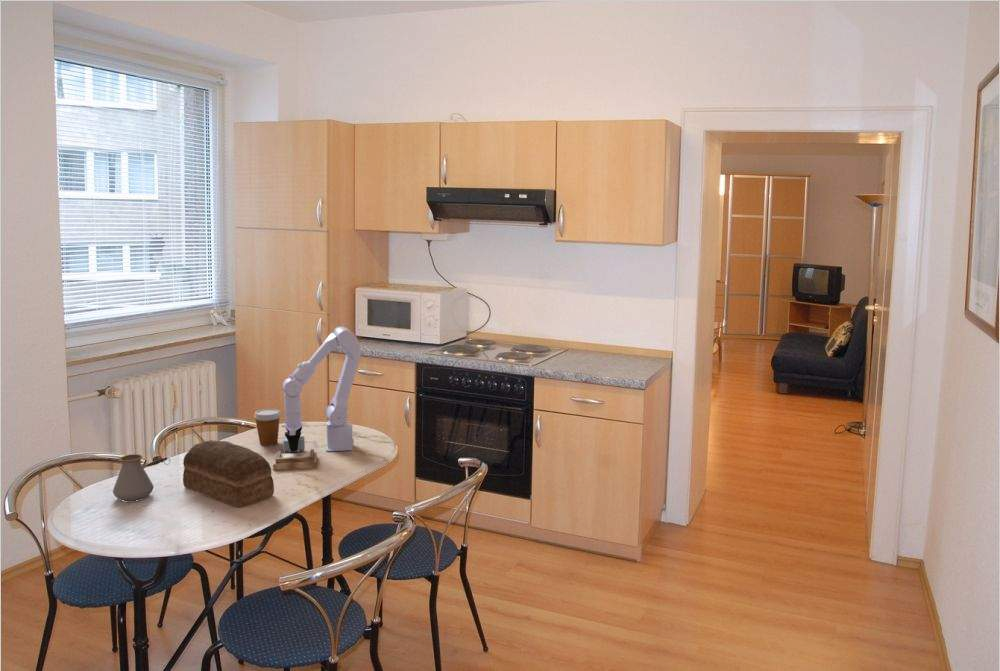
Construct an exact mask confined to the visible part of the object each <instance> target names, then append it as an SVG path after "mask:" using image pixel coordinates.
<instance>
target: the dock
mask: <svg viewBox="0 0 1000 671" xmlns="http://www.w3.org/2000/svg"><path fill="white" fill-rule="evenodd" d="M317 458H318V452H317V451H315V449H311V448H310V452H309V451H308V452H307V451H306V452H304V453H299V452H290V453H287V454H284V453H282V451H281V450H277V452H276V453H275V455H274V460H273V462H272V463H273V464H272V468H273V471H281V469H284V470H300V468H301V469H302V470H303V469H317V460H318V459H317ZM298 468H299V469H298Z"/></svg>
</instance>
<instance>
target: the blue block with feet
mask: <svg viewBox="0 0 1000 671" xmlns="http://www.w3.org/2000/svg"><path fill="white" fill-rule="evenodd" d="M305 444H306V442H305V436H300V438H299V441H298V449H297V451H298V453H305V446H306V445H305ZM283 451H284V452H283V454H287V453H291V450H290V446H289V442H288V440H287V438H286V436H285V437H283Z"/></svg>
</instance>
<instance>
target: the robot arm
mask: <svg viewBox="0 0 1000 671" xmlns="http://www.w3.org/2000/svg"><path fill="white" fill-rule="evenodd" d="M340 347H341V348H340ZM341 349H342V351H343V352H344V354H345V359H344V361H343V365H342V368H341V372H340V376H339V378H338V382H337V384H336V389H335V392H334V395H333V397H332V399H331V400H330V404H328V406H327V407H326V409H325V411H324V412H325V416H326V418H327V419H328V420H327V422H326V444H325V445H326V446H325V451H326V452H341V451H342V452H343V451H344V452H345V451H353V450H354V445H353V444H354V443H355V442H354V441H355V439H354V438H353V436H354V435H353V423H348V422H347V421H348V409H349V405H348V403H349V402H348V401H349V397H350V394H351V391H352V388H353V384H354V380H355V377H356V374H357V371H358V367H359V363H360V360H361V357H362V351H361V349H360V345H359V341H358V338H357V336H356V335H355V334H354V332H352V331H351V330H350V329H348V327H346V326H342V325H341V326H337V327H336V328H334V330H333V332H331V333H329V335H328V336H327V337H326V339H325V340H324V341H323V342H322V344H321V345H320V346H319V347H318V348H317V350H316V351H315V352H314V353H313V354H312V356H311V357H310V358H309V360H306V361H302V362H299V363H298V364H297V368H296V369H295V371H294V372H293V373H292V374H289V375H288V378H286V379H285V380H284V381H283V383H282V385H281V388H282V391H283V396H284V397H283V398H284V400H283V405H284V406H283V407H284V411H283V412H284V423H282V424H281V427H282V428H285V430H286V432H284V436H285V437H286V438H287V440H288V442H289V446H290V450H291V451H290V453H297V451H298V450H297V449H298V441H299V438H300V437H302V436H301V435H302V429H303V422H302V406H301V405H302V402H301V400H302V399H301V394H302V391H303V387H304V386H305V385H306V384H307V383H308V382H309V380H311V378H312V377H313V376H314V375H315V374H316V372H317V370H316V369H317V366H318V365H319V364H320V363H321V362H322V361H323V360H324V359H325V358H326V357H327V356H328V355H329V354H330V353H331V352H332V351H337V350H341Z"/></svg>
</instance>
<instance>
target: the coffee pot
mask: <svg viewBox="0 0 1000 671" xmlns="http://www.w3.org/2000/svg"><path fill="white" fill-rule="evenodd" d="M142 459H143V456H142V455H141V454H135V453H134V454H128V455H123V456H121V457H119V461H120V463H121V468H120V471H119V473H118V475H117V476H118V477H117V479H116V481H115V484H114V486H113V489H112V493H113V495H114V497H115V498H117V499H119V500H120V499H121V500H124V501H136V500H140V501H142V500H141V499H143V498H145V497H147V498H148V496H149V495H151V493H153V489H154V483H153V482H152V481H151V479H150V477H149V475H148V474H147V472H146V470H145V468H148V467H149V468H150V467H152V466H156V465H158V464H160V463H163V464H164V465H169V463H166V461H167V460H169V461H171V459H170V458H168V457H163V458H162V457H161V458H160V459H156V460H154V461H151V462H149V463H147V464H144V465H143V464H142V463H141V460H142ZM145 499H146V498H145ZM121 500H120V501H121ZM143 500H144V499H143ZM136 502H137V501H136Z"/></svg>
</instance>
